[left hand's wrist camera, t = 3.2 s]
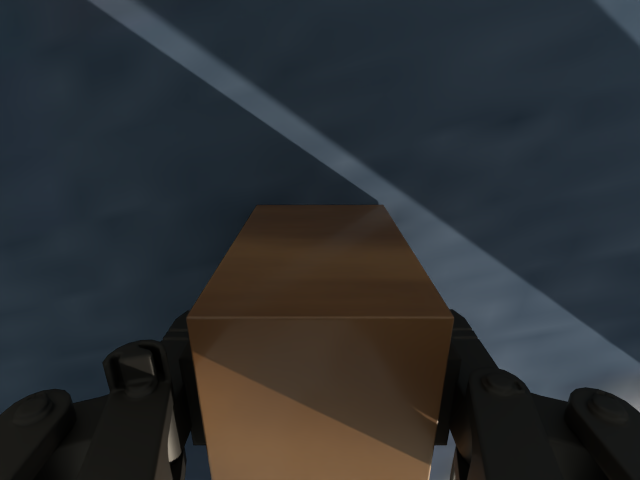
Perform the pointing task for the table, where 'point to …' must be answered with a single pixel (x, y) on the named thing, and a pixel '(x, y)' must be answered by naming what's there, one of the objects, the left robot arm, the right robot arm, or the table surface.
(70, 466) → the left robot arm
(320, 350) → the bar
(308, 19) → the table surface
